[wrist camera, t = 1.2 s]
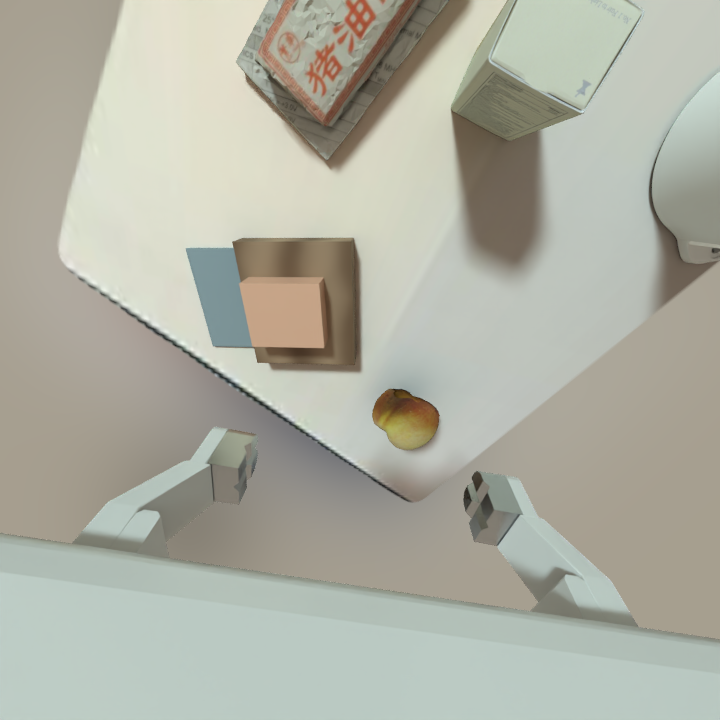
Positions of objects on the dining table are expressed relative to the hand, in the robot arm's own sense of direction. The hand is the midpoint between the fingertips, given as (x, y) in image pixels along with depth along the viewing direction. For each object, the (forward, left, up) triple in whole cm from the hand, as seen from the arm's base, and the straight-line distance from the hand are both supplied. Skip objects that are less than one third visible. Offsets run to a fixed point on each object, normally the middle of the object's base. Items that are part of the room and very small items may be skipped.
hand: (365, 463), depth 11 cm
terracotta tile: (+10, +3, -24) cm, 26 cm away
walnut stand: (+9, +3, -26) cm, 28 cm away
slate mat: (+17, +3, -26) cm, 31 cm away
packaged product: (+2, -21, -27) cm, 34 cm away
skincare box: (-9, -15, -26) cm, 32 cm away
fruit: (-4, +16, -26) cm, 31 cm away
